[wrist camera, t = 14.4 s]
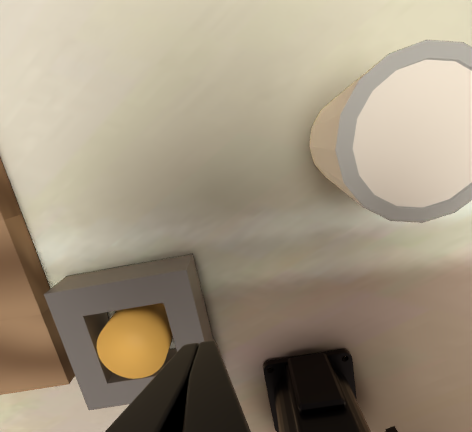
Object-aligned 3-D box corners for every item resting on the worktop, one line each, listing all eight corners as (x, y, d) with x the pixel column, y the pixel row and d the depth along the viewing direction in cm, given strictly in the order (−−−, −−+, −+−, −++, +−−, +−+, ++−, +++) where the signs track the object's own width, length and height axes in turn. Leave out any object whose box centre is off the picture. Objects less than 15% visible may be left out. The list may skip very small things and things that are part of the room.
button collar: (218, 363, 22) (216, 390, 19) (104, 381, 22) (88, 410, 20) (192, 253, 20) (186, 269, 17) (67, 276, 20) (43, 294, 18)
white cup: (294, 88, 17) (331, 53, 10) (411, 71, 17) (528, 23, 10) (303, 201, 19) (340, 234, 12) (410, 187, 19) (510, 212, 12)
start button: (181, 346, 21) (174, 372, 19) (123, 355, 21) (108, 383, 19) (166, 292, 20) (156, 313, 18) (105, 303, 20) (87, 324, 18)
